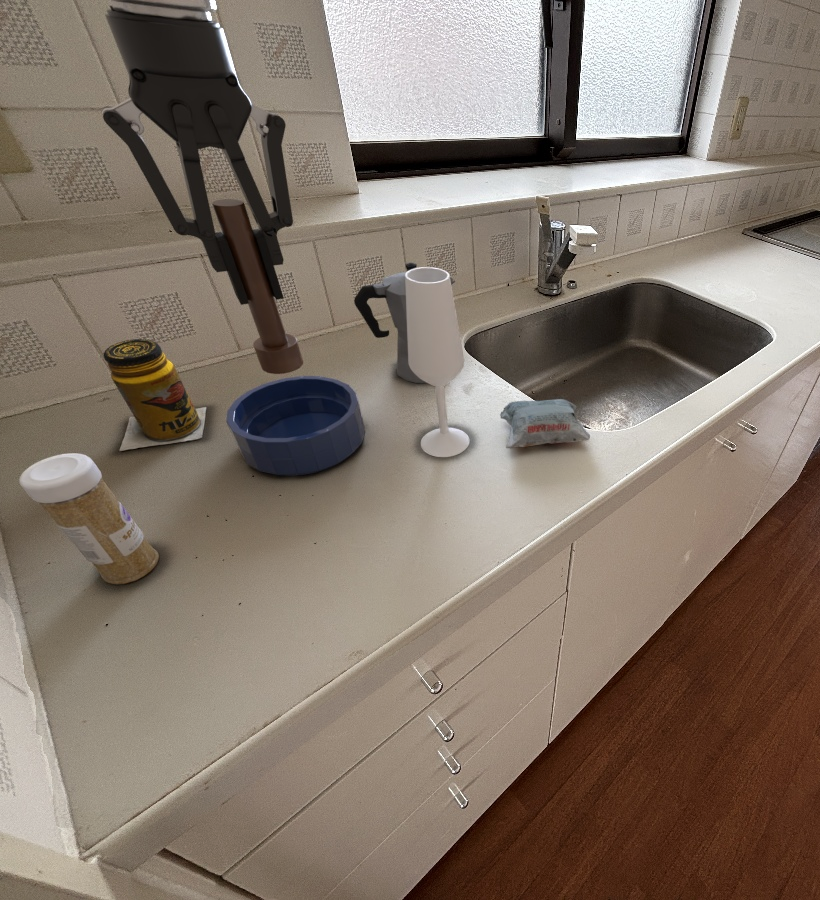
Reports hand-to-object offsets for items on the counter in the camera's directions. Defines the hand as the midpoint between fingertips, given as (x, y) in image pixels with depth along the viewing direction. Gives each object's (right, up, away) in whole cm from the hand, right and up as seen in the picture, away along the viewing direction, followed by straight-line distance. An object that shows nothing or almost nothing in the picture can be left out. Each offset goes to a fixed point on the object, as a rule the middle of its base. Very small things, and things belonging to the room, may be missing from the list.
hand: (259, 296), depth 54 cm
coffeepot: (+7, -4, +30) cm, 30 cm away
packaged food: (+29, -15, +20) cm, 38 cm away
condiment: (-21, -14, +12) cm, 28 cm away
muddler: (-1, -7, +5) cm, 9 cm away
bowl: (-2, -16, +13) cm, 21 cm away
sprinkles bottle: (-10, -29, -4) cm, 31 cm away
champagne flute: (+15, -16, +16) cm, 27 cm away
